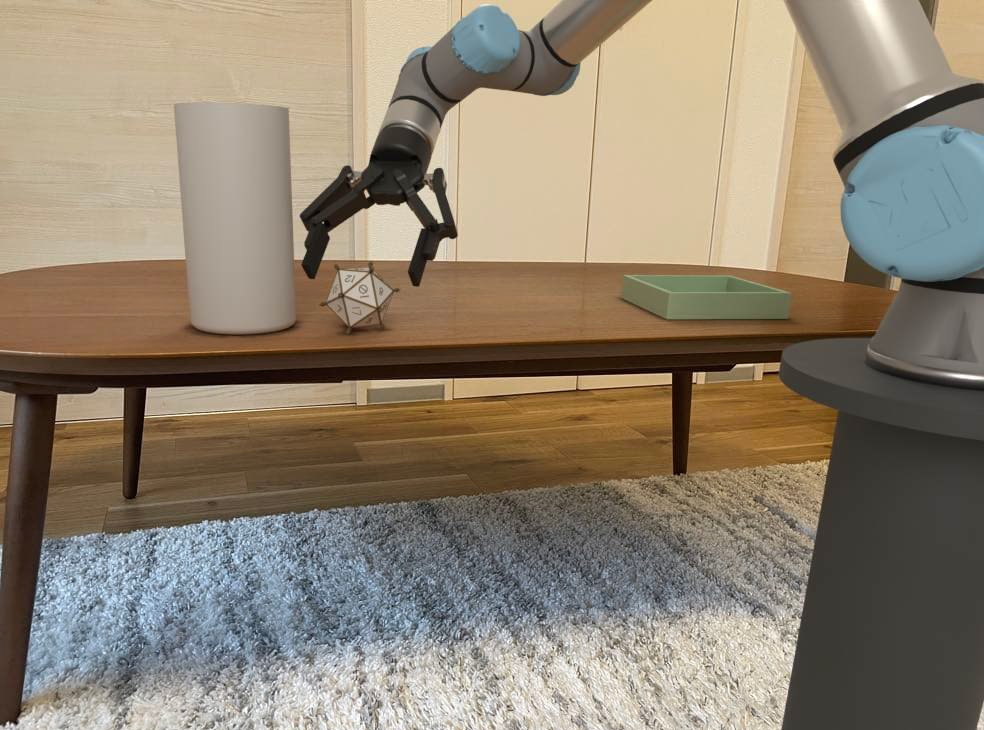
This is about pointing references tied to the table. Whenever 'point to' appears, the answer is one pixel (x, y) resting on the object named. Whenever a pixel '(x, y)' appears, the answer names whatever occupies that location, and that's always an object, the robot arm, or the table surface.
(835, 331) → the table surface
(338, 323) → the table surface
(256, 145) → the cylinder vase
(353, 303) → the game die
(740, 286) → the tray
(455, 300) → the table surface
